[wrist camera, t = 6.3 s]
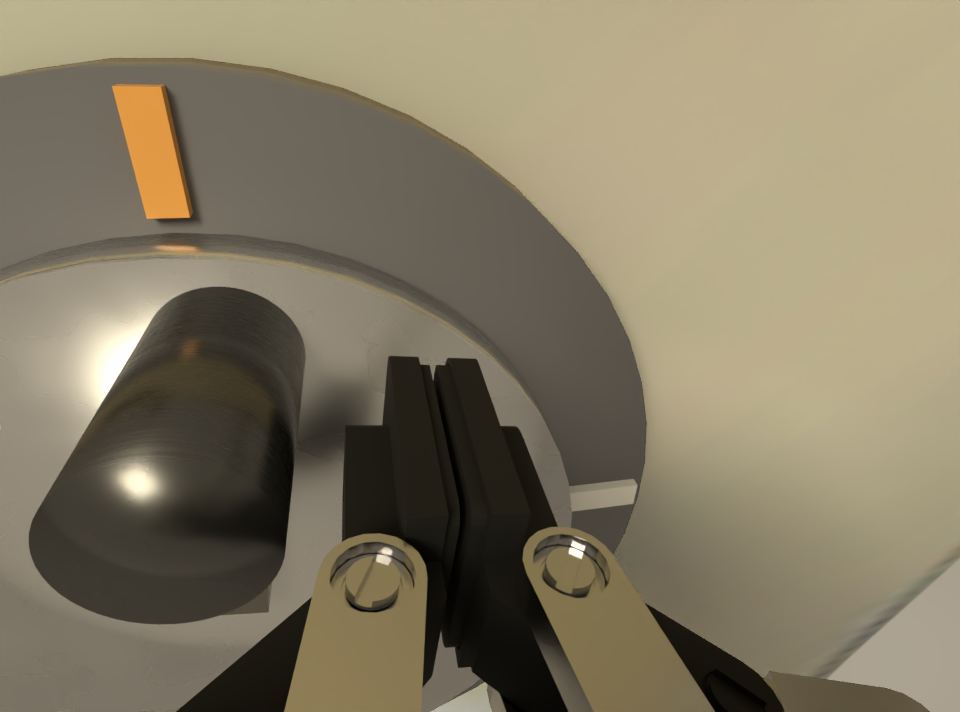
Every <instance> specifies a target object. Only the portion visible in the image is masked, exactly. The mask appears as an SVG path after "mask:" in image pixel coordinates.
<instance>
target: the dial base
mask: <svg viewBox="0 0 960 712" xmlns="http://www.w3.org/2000/svg"><path fill="white" fill-rule="evenodd" d="M164 233H199V234H230V235H242V236H248V237H255V238H262V239H268V240H275V241H282V242H288V243H295V244H299V245H303V246H306V247H310V248H314V249H317V250H321V251H325V252H328V253H332V254H336V255H340V256H343V257H347V258H351V259H353V260H356V261H358V262H360V263H363V264H365V265H368V266H370V267H373V268H375V269H378V270H380V271H383V272H385V273H388V274H390V275H393V276H395V277H397V278H400V279H402V280H403V281H405V282H407V283H409V284H411V285H412V286H414V287H416V288H418V289H419V290H421V291H423V292H425V293H427V294H428V295H430V296H432V297H434V298H436V299H437V300H439V301H441V302H443V303H444V304H445V305H447V306H448V307H449V308H451V309H452V310H453V311H455V312H456V313H457V314H459V315H460V316H461V317H463V318H464V319H465V320H466V321H468V322H469V323H470V324H472V325H473V326H474V327H476V328H477V329H478V330H479V331H480V332H481V333H482V334H483V335H484V336H485V337H486V338H487V339H488V340H489V341H490V342H491V343H492V344H493V345H494V346H495V347H496V348H497V349H498V350H499V351H500V352H501V353H502V354H503V355H504V356H505V357H506V358H507V359H508V361H509V362H510V363H511V365H512V366H513V368H514V369H515V370H516V372H517V373H518V374H519V376H520V377H521V379H522V380H523V381H524V383H525V384H526V386H527V387H528V389H529V391H530V393H531V395H532V397H533V399H534V401H535V403H536V405H537V407H538V409H539V411H540V413H541V415H542V417H543V419H544V421H545V423H546V425H547V427H548V429H549V431H550V433H551V435H552V437H553V440H554V442H555V444H556V446H557V448H558V450H559V452H560V455H561V458H562V462H563V465H564V469H565V472H566V476H567V479H568V482H569V490H570V500H571V510H572V520H571V528H573V529H578V530H581V531H583V532H585V533H587V534H589V535H592V536H593V537H595V538H596V539H597V540H599V541H600V542H601V543H603V544H604V545H605V546H606V547H607V548H608V550H609V551H610V552H611V553H612V554H614V552H615V550H616V548H617V546H618V544H619V542H620V541H621V539H622V537H623V535H624V533H625V530H626V528H627V525H628V522H629V519H630V517H631V514H632V511H633V509H634V506H635V503H636V500H637V497H638V492H639V487H640V482H641V477H642V473H643V468H644V463H645V445H646V424H647V423H646V415H645V406H644V397H643V389H642V382H641V378H640V375H639V371H638V368H637V364H636V361H635V358H634V354H633V351H632V347H631V344H630V340H629V338H628V336H627V334H626V332H625V330H624V328H623V326H622V324H621V322H620V320H619V317H618V315H617V313H616V311H615V309H614V307H613V305H612V303H611V301H610V299H609V297H608V295H607V294H606V292H605V291H604V289H603V288H602V287H601V285H600V284H599V282H598V281H597V279H596V278H595V277H594V275H593V274H592V272H591V271H590V269H589V268H588V267H587V265H586V264H585V262H584V261H583V259H582V258H581V257H580V255H579V254H578V252H577V251H576V250H575V249H574V248H573V247H572V246H571V245H570V244H569V243H568V242H567V240H566V239H565V238H564V237H563V236H562V235H561V234H560V233H559V232H558V231H557V230H556V229H555V228H554V226H553V225H552V224H551V223H550V222H549V221H548V220H547V219H546V218H545V217H544V216H543V215H542V214H541V213H540V212H539V211H538V210H537V209H536V208H535V207H534V206H533V205H532V203H531V202H530V201H529V200H528V199H527V198H526V197H525V196H524V195H523V194H522V193H521V192H520V191H519V190H518V189H517V188H516V187H515V186H514V185H513V184H511V183H510V182H509V181H508V180H506V179H505V178H504V177H503V176H501V175H500V174H499V173H497V172H496V171H495V170H494V169H492V168H491V167H490V166H488V165H487V164H486V163H485V162H483V161H482V160H481V159H480V158H478V157H477V156H476V155H474V154H473V153H472V152H471V151H469V150H468V149H467V148H465V147H463V146H461V145H460V144H458V143H456V142H454V141H453V140H451V139H449V138H448V137H446V136H444V135H442V134H441V133H439V132H437V131H436V130H434V129H432V128H430V127H429V126H427V125H425V124H424V123H422V122H420V121H418V120H417V119H415V118H413V117H411V116H410V115H407V114H405V113H402V112H400V111H397V110H395V109H393V108H390V107H388V106H385V105H383V104H381V103H378V102H376V101H373V100H371V99H369V98H366V97H364V96H361V95H359V94H357V93H354V92H352V91H349V90H347V89H344V88H341V87H337V86H333V85H330V84H326V83H322V82H319V81H315V80H311V79H307V78H304V77H300V76H296V75H292V74H289V73H285V72H281V71H278V70H274V69H269V68H262V67H254V66H247V65H239V64H232V63H224V62H217V61H209V60H202V59H194V58H109V59H102V60H95V61H88V62H81V63H74V64H67V65H60V66H53V67H46V68H39V69H32V70H27V71H22V72H18V73H13V74H9V75H4V76H0V269H1V268H4V267H6V266H9V265H12V264H15V263H18V262H21V261H23V260H26V259H29V258H32V257H35V256H37V255H40V254H43V253H46V252H49V251H52V250H57V249H62V248H67V247H71V246H76V245H81V244H85V243H90V242H95V241H100V240H104V239H109V238H118V237H129V236H141V235H153V234H164ZM483 682H484V681H483V680H482V679H479V680H478V681H477V682H476V683H475V684H473V685H472V686H470V687H469V688H467V689H466V690H464V691H463V692H461V693H460V694H458V695H457V696H455V697H454V698H456V697H458V696H460V695H462V694H464V693H466V692H468V691H470V690H472V689H474V688H475V687H477V686H479V685H480V684H482V683H483ZM454 698H452V699H454ZM452 699H451V700H452ZM451 700H449V701H451ZM449 701H448V702H449ZM446 703H447V702H446Z"/></svg>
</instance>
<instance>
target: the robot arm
mask: <svg viewBox="0 0 960 712" xmlns="http://www.w3.org/2000/svg"><path fill="white" fill-rule="evenodd" d="M440 632H441V634H442V640H443V644H444V647H445V648H450V647H455V652H456V659H457V665H458V668H465V667H471V669H472V673H474V674H475V675H476V676H478V677H479V678H480V679H482V680H483V681H484V682H486V683H487V684H488V686H487V692H488V697H489V703H490V706H491V709H492V711H493V712H929V711H928V710H927V709H926V708H925V707H924V706H923V705H922V704H920V703H918V702H917V701H915V700H913V699H912V698H910V697H908V696H907V695H905V694H903V693H900V692H897V691H894V690H891V689H887V688H882V687H875V686H868V685H861V684H854V683H847V682H840V681H834V680H827V679H820V678H813V677H806V676H799V675H792V674H785V673H778V672H771V671H769V673H768V674H767V676H766V677H765V678H762V677H761V676H760V675H759V674H758V673H756V672H755V671H754V670H752V669H751V668H750V667H748V666H747V665H746V664H744V663H743V662H741V661H740V660H738V659H736V658H735V657H733V656H731V655H730V654H728V653H727V652H725V651H723V650H722V649H720V648H718V647H717V646H715V645H713V644H712V643H710V642H708V641H707V640H705V639H703V638H702V637H700V636H698V635H697V634H695V633H694V632H692V631H690V630H689V629H687V628H685V627H684V626H682V625H680V624H679V623H677V622H675V621H674V620H672V619H670V618H669V617H667V616H666V615H664V614H662V613H661V612H659V611H657V610H656V609H654V608H652V607H651V606H649V605H647V604H646V603H644V601H643V600H642V598H641V597H640V595H639V594H638V592H637V591H636V589H635V588H634V586H633V585H632V583H631V581H630V580H629V578H628V577H627V575H626V574H625V572H624V571H623V569H622V568H621V566H620V564H619V563H618V561H617V560H616V558H615V557H614V555H613V554H612V553H611V552H610V551H609V550H608V548H607V547H606V546H605V545H604V544H603V543H601V542H600V541H599V540H597V539H596V538H595V537H593V536H592V535H589V534H587V533H585V532H583V531H581V530H578V529H573V528H569V527H558V525H557V523H556V520H555V518H554V515H553V513H552V510H551V507H550V505H549V502H548V500H547V497H546V495H545V492H544V489H543V487H542V484H541V482H540V479H539V477H538V474H537V472H536V469H535V466H534V464H533V461H532V459H531V456H530V454H529V451H528V449H527V446H526V443H525V441H524V438H523V436H522V433H521V431H520V430H519V428H518V427H516V426H500V423H499V420H498V417H497V414H496V411H495V408H494V406H493V403H492V400H491V397H490V394H489V391H488V388H487V386H486V383H485V380H484V377H483V374H482V371H481V368H480V365H479V363H478V360H477V359H470V358H447V360H446V363H445V365H436V367H435V372H434V380H433V378H432V373H431V368H430V365H421V364H420V361H419V357H410V356H389V357H388V363H387V374H386V386H385V398H384V409H383V421H382V425H346V426H345V444H344V466H343V499H342V542H341V543H340V544H338V545H336V546H335V547H334V548H333V549H332V550H331V551H330V552H329V553H328V554H327V555H326V556H325V557H324V560H323V562H322V564H321V566H320V568H319V571H318V575H317V579H316V583H315V587H314V591H313V595H312V597H311V598H310V599H309V600H308V601H306V602H305V603H304V604H303V605H302V606H300V607H299V608H298V609H297V610H296V611H294V612H293V613H292V614H291V615H290V616H289V617H287V618H286V619H285V620H284V621H283V622H281V623H280V624H279V625H278V626H277V627H276V628H274V629H273V630H272V631H271V632H270V633H268V634H267V635H266V636H265V637H264V638H263V639H261V640H260V641H259V642H258V643H257V644H255V645H254V646H253V647H252V648H251V649H249V650H248V651H247V652H246V653H245V654H244V655H242V656H241V657H240V658H239V659H238V660H236V661H235V662H234V663H233V664H232V665H231V666H229V667H228V668H227V669H226V670H225V671H223V672H222V673H221V674H220V675H219V676H218V677H216V678H215V679H214V680H213V681H212V682H210V683H209V684H208V685H207V686H206V687H205V688H203V689H202V690H201V691H200V692H199V693H197V694H196V695H195V696H194V697H193V698H191V699H190V700H189V701H188V702H187V703H186V704H184V705H183V706H182V707H181V708H180V709H178V710H177V711H176V712H421V708H422V688H423V687H424V686H425V684H426V683H427V682H428V681H429V680H430V678H431V677H432V675H433V669H434V664H435V659H436V653H437V648H438V643H439V638H440Z"/></svg>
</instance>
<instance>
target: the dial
mask: <svg viewBox="0 0 960 712" xmlns="http://www.w3.org/2000/svg"><path fill="white" fill-rule="evenodd" d="M389 356H410V357H419V361H420V364H421V365H430V368H431V373H432V378H433V380H434V372H435V367H436V365H445V363H446V360H447V358H470V359H477V360H478V363H479V365H480V368H481V371H482V374H483V377H484V380H485V383H486V386H487V388H488V391H489V394H490V397H491V400H492V403H493V406H494V408H495V411H496V414H497V417H498V420H499V423H500V426H516V427H518V428H519V430H520V431H521V433H522V436H523V438H524V441H525V443H526V446H527V449H528V451H529V454H530V456H531V459H532V461H533V464H534V466H535V469H536V472H537V474H538V477H539V479H540V482H541V484H542V487H543V489H544V492H545V495H546V497H547V500H548V502H549V505H550V507H551V510H552V513H553V515H554V518H555V520H556V523H557V525H558V527H569V528H571V520H572V510H571V500H570V490H569V482H568V479H567V476H566V472H565V469H564V465H563V462H562V458H561V455H560V452H559V450H558V448H557V446H556V444H555V442H554V440H553V437H552V435H551V433H550V431H549V429H548V427H547V425H546V423H545V421H544V419H543V417H542V415H541V413H540V411H539V409H538V407H537V405H536V403H535V401H534V399H533V397H532V395H531V393H530V391H529V389H528V387H527V386H526V384H525V383H524V381H523V380H522V379H521V377H520V376H519V374H518V373H517V372H516V370H515V369H514V368H513V366H512V365H511V363H510V362H509V361H508V359H507V358H506V357H505V356H504V355H503V354H502V353H501V352H500V351H499V350H498V349H497V348H496V347H495V346H494V345H493V344H492V343H491V342H490V341H489V340H488V339H487V338H486V337H485V336H484V335H483V334H482V333H481V332H480V331H479V330H478V329H477V328H476V327H474V326H473V325H472V324H470V323H469V322H468V321H466V320H465V319H464V318H463V317H461V316H460V315H459V314H457V313H456V312H455V311H453V310H452V309H451V308H449V307H448V306H447V305H445V304H444V303H443V302H441V301H439V300H437V299H436V298H434V297H432V296H430V295H428V294H427V293H425V292H423V291H421V290H419V289H418V288H416V287H414V286H412V285H411V284H409V283H407V282H405V281H403V280H402V279H400V278H397V277H395V276H393V275H390V274H388V273H385V272H383V271H380V270H378V269H375V268H373V267H370V266H368V265H365V264H363V263H360V262H358V261H356V260H353V259H351V258H347V257H343V256H340V255H336V254H332V253H328V252H325V251H321V250H317V249H314V248H310V247H306V246H303V245H299V244H295V243H288V242H282V241H275V240H268V239H262V238H255V237H248V236H242V235H230V234H199V233H164V234H153V235H141V236H129V237H118V238H109V239H104V240H100V241H95V242H90V243H85V244H81V245H76V246H71V247H67V248H62V249H57V250H52V251H49V252H46V253H43V254H40V255H37V256H35V257H32V258H29V259H26V260H23V261H21V262H18V263H15V264H12V265H9V266H6V267H4V268H1V269H0V712H176V711H177V710H178V709H180V708H181V707H182V706H183V705H184V704H186V703H187V702H188V701H189V700H190V699H191V698H193V697H194V696H195V695H196V694H197V693H199V692H200V691H201V690H202V689H203V688H205V687H206V686H207V685H208V684H209V683H210V682H212V681H213V680H214V679H215V678H216V677H218V676H219V675H220V674H221V673H222V672H223V671H225V670H226V669H227V668H228V667H229V666H231V665H232V664H233V663H234V662H235V661H236V660H238V659H239V658H240V657H241V656H242V655H244V654H245V653H246V652H247V651H248V650H249V649H251V648H252V647H253V646H254V645H255V644H257V643H258V642H259V641H260V640H261V639H263V638H264V637H265V636H266V635H267V634H268V633H270V632H271V631H272V630H273V629H274V628H276V627H277V626H278V625H279V624H280V623H281V622H283V621H284V620H285V619H286V618H287V617H289V616H290V615H291V614H292V613H293V612H294V611H296V610H297V609H298V608H299V607H300V606H302V605H303V604H304V603H305V602H306V601H308V600H309V599H310V598H311V597H312V595H313V591H314V587H315V583H316V579H317V575H318V571H319V568H320V566H321V564H322V562H323V560H324V557H325V556H326V555H327V554H328V553H329V552H330V551H331V550H332V549H333V548H334V547H335V546H336V545H338V544H340V543H341V542H342V499H343V466H344V444H345V426H346V425H382V421H383V409H384V398H385V386H386V374H387V363H388V357H389ZM479 679H480V678H479V677H478V676H476V675H475V674H474V673H472V669H471V667H465V668H458V665H457V659H456V652H455V647H450V648H445V647H444V644H443V640H442V634H441V632H440V638H439V643H438V648H437V653H436V659H435V664H434V669H433V675H432V677H431V678H430V680H429V681H428V682H427V683H426V684H425V686H424V687H423V688H422V708H421V712H430V711H432V710H434V709H436V708H437V707H439V706H441V705H443V704H445V703H446V702H448V701H449V700H451V699H452V698H454V697H455V696H457V695H458V694H460V693H461V692H463V691H464V690H466V689H467V688H469V687H470V686H472V685H473V684H475V683H476V682H477V681H478V680H479Z"/></svg>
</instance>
